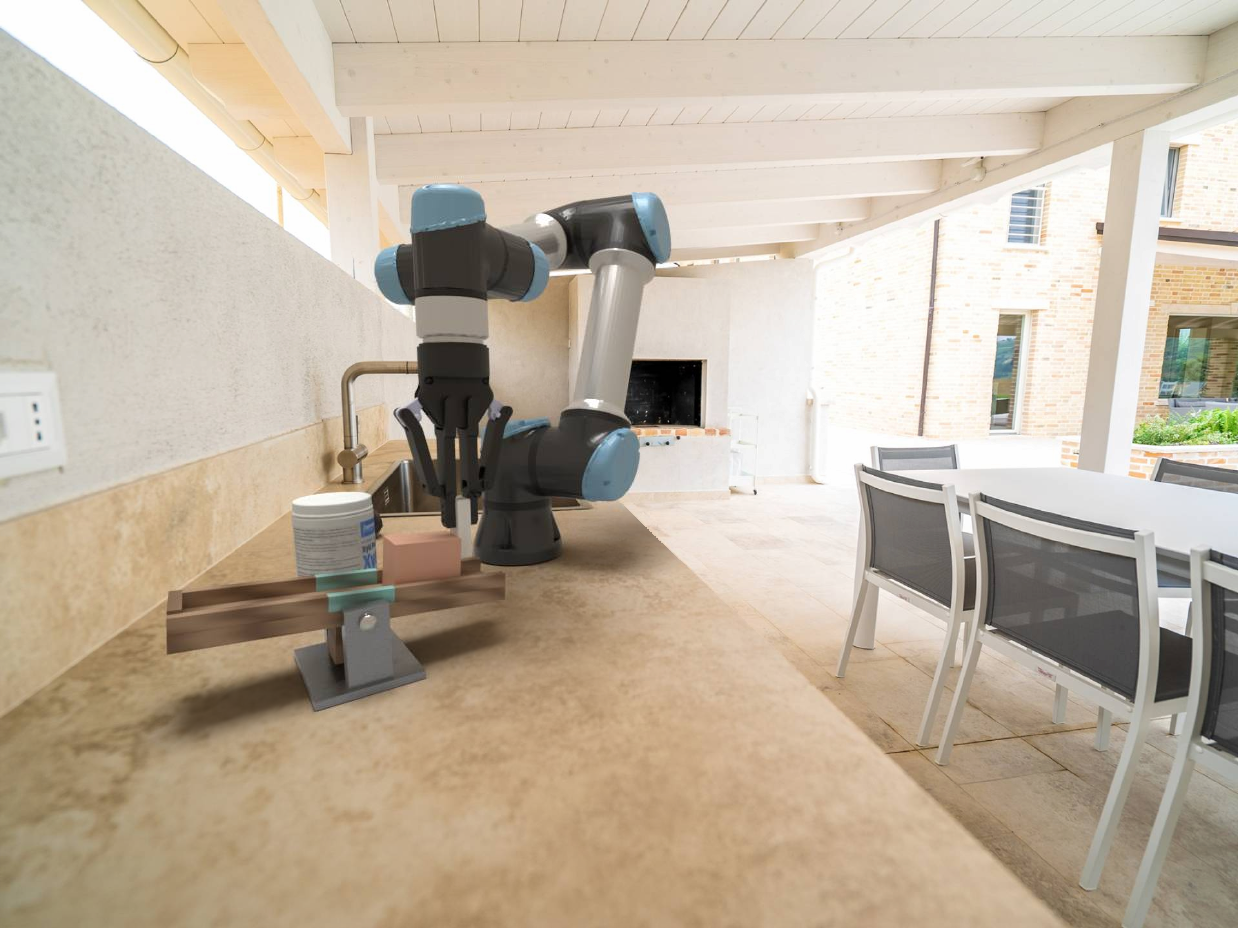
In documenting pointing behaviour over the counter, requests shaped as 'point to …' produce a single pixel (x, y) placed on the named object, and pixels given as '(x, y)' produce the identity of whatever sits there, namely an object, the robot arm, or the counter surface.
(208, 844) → the counter surface
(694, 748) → the counter surface
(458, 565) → the block
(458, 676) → the counter surface
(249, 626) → the beam
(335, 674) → the stand
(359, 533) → the supplement tub
